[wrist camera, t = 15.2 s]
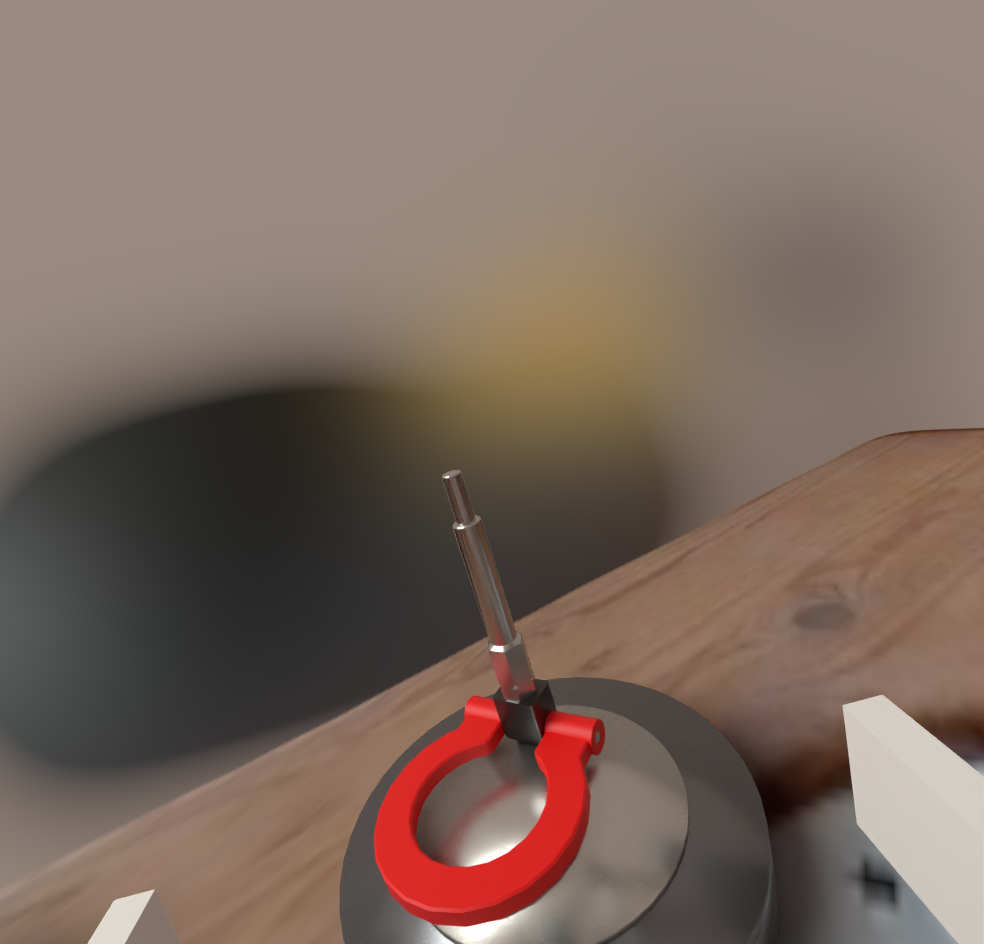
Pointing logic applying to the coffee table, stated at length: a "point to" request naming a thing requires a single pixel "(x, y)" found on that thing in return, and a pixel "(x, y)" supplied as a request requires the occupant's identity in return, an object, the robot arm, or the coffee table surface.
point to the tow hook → (512, 712)
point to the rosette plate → (592, 835)
